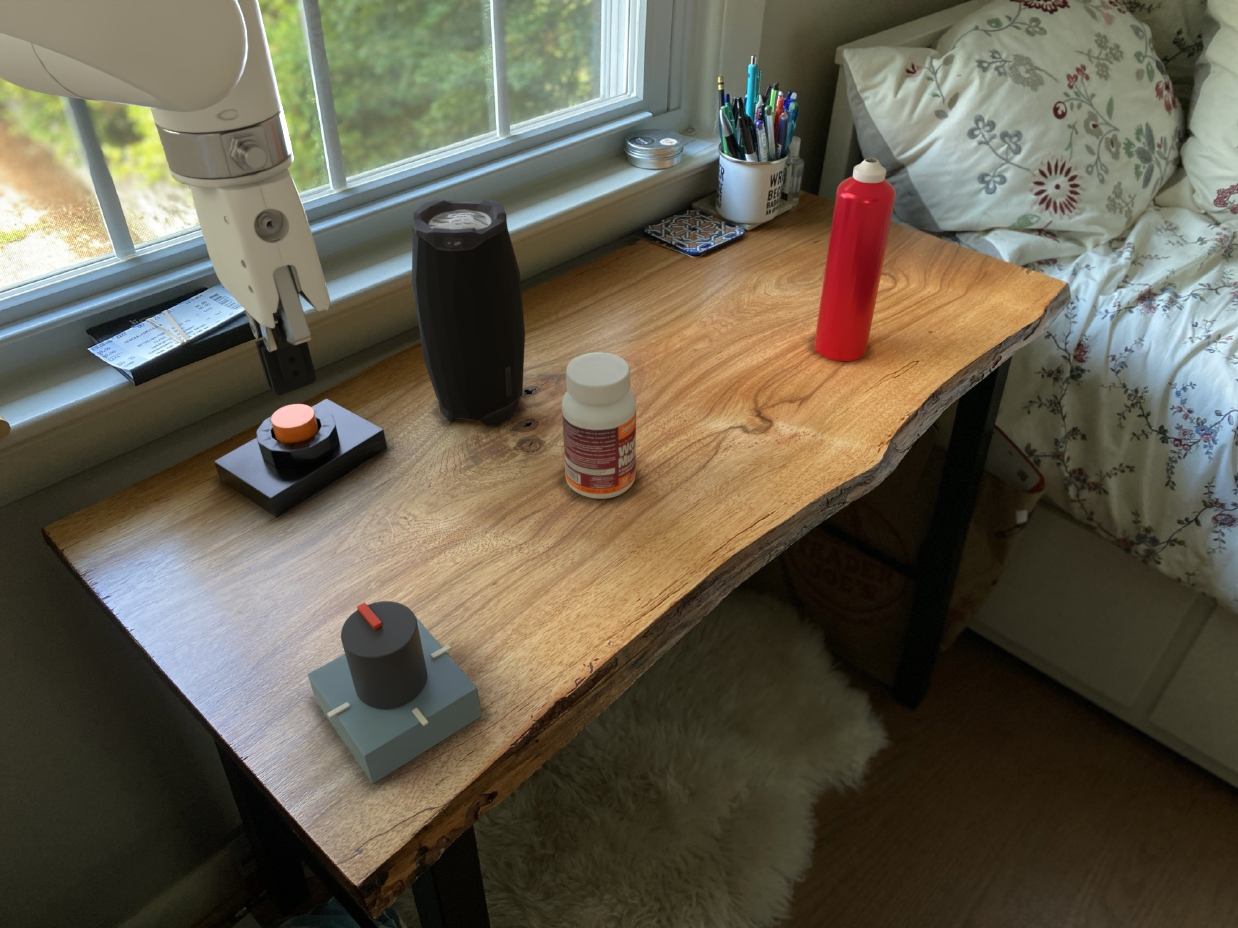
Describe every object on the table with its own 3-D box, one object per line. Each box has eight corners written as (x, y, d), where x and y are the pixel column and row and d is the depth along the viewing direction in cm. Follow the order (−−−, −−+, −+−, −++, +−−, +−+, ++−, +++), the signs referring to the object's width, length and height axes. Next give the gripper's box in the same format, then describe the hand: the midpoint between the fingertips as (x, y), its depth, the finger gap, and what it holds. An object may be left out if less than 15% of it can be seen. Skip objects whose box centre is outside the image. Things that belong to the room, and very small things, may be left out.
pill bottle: (633, 503, 79) (634, 391, 72) (561, 500, 79) (555, 388, 72) (637, 458, 83) (638, 349, 76) (568, 455, 84) (564, 347, 77)
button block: (276, 518, 77) (265, 481, 75) (220, 481, 81) (207, 444, 79) (387, 448, 85) (380, 412, 82) (331, 417, 88) (322, 382, 86)
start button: (292, 449, 79) (288, 433, 78) (266, 434, 80) (261, 417, 79) (327, 429, 81) (323, 413, 80) (301, 415, 83) (296, 398, 81)
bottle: (803, 341, 99) (829, 155, 87) (844, 330, 101) (876, 146, 89) (834, 366, 95) (866, 175, 83) (877, 353, 97) (914, 165, 85)
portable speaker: (421, 396, 91) (389, 205, 79) (510, 372, 94) (493, 185, 82) (449, 443, 85) (420, 243, 73) (543, 416, 88) (531, 220, 76)
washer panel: (369, 792, 57) (360, 762, 55) (308, 701, 63) (298, 671, 61) (490, 716, 62) (485, 686, 60) (423, 638, 67) (417, 607, 65)
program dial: (440, 683, 60) (430, 628, 57) (376, 722, 58) (362, 666, 54) (404, 641, 63) (392, 586, 60) (342, 676, 60) (326, 621, 57)
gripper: (334, 163, 56) (384, 411, 67) (241, 101, 65) (299, 329, 77) (209, 195, 52) (285, 451, 64) (130, 124, 62) (208, 360, 73)
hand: (292, 384), depth 70 cm, fingers closed
